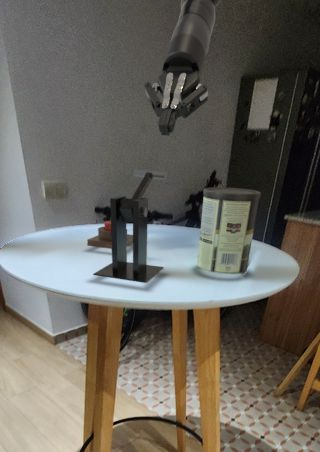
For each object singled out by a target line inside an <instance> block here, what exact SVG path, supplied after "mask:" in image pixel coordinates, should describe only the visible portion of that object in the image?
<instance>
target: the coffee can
mask: <svg viewBox="0 0 320 452" xmlns="http://www.w3.org/2000/svg"><path fill="white" fill-rule="evenodd" d="M261 196H262V192H261V191H259V190H254V189H250V188H249V189H248V188H239V187H223V186H222V187H218V186H215V187H214V186H213V187H205V188H203V198H202V199H203V200H202V210H201V219H200V220H201V221H200V230H199V231H200V232H199V242H198V251H197V252H198V253H197V262H196V266H197V267H198V268H200V269H202V270H204V271H208V272H212V273H218V274H240V273H243V272H244V273H243V275H242V277H244V276H246V275H247V272H248V265H249V259H250V254H251V248H252V243H253V236H254V232H255V231H254V230H255V225H256V220H257V214H258V209H259V205H260V204H259V202H260V198H261Z"/></svg>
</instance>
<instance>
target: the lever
mask: <svg viewBox="0 0 320 452" xmlns="http://www.w3.org/2000/svg"><path fill="white" fill-rule="evenodd" d="M167 174H168V173H167V171H162V170H161V171H160V170H149V169H134V170H133V177H134V178H141V181H140V183H139V184H138V186H137V187H136V190H135V192H134V193H133V195H132V197H131V198H128V197H126V198H125V199H124V201H123V203H122V204H121V206H120V208H119V209H120V214H121V219H122V221H123V222H126V223H132V224H133V200H137V199H140V198H143V196H144V194H145V193H146V191H147V189H148V187H149V186H150V184H151V182H152V180H153V179H154V180H167V176H168V175H167Z"/></svg>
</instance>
